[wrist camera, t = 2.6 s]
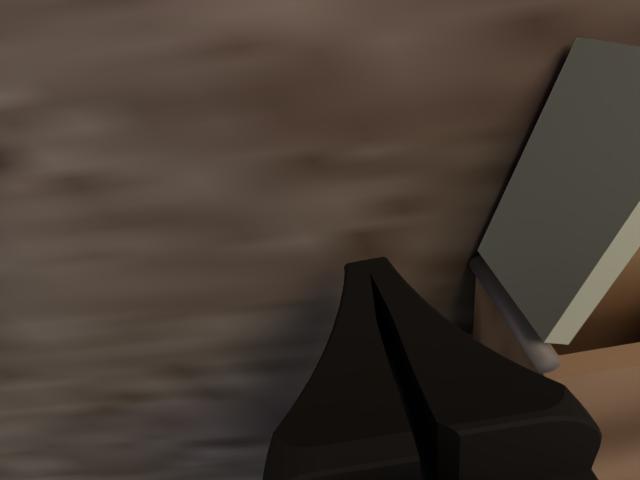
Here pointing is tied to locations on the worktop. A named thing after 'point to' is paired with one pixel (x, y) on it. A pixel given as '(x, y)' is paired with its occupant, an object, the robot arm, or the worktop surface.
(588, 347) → the cabinet
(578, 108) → the door
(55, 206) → the worktop surface
